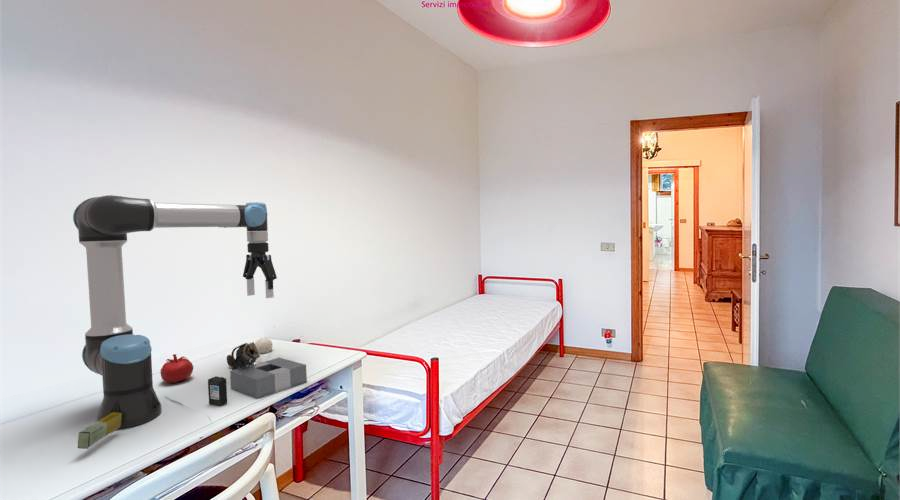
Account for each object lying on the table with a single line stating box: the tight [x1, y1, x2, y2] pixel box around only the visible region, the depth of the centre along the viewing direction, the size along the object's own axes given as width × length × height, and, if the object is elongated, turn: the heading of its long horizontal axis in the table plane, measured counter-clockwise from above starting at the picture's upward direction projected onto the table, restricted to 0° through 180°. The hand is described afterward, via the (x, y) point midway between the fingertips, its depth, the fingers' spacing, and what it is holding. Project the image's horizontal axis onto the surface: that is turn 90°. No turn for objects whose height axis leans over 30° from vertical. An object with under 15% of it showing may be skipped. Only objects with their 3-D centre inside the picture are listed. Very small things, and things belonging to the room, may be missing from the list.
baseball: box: [254, 337, 273, 354], centre depth 191 cm, size 7×7×7 cm
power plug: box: [231, 352, 257, 370], centre depth 158 cm, size 6×8×12 cm
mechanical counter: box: [226, 342, 261, 369], centre depth 170 cm, size 7×13×10 cm, turn 89°
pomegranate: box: [159, 353, 194, 384], centre depth 160 cm, size 10×10×9 cm
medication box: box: [77, 412, 122, 450], centre depth 115 cm, size 12×3×4 cm, turn 3°
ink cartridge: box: [207, 376, 228, 407], centre depth 136 cm, size 5×2×8 cm, turn 69°
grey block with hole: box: [229, 357, 308, 400], centre depth 151 cm, size 18×16×6 cm
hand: (260, 296), depth 177 cm, fingers open, 13 cm apart
